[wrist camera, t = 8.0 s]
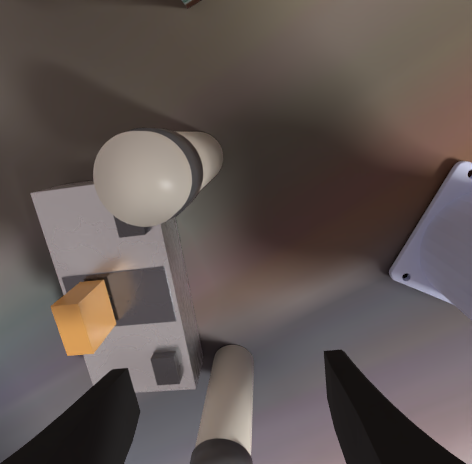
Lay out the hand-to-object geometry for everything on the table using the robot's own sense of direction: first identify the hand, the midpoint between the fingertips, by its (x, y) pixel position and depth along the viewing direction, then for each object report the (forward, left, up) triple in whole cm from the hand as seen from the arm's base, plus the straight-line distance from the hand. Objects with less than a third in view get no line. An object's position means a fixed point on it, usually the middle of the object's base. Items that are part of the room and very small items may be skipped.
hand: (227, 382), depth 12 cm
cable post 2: (-2, +7, -10) cm, 13 cm away
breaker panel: (+6, +4, -10) cm, 13 cm away
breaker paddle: (+7, +4, -7) cm, 11 cm away
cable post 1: (+5, -6, -10) cm, 13 cm away
